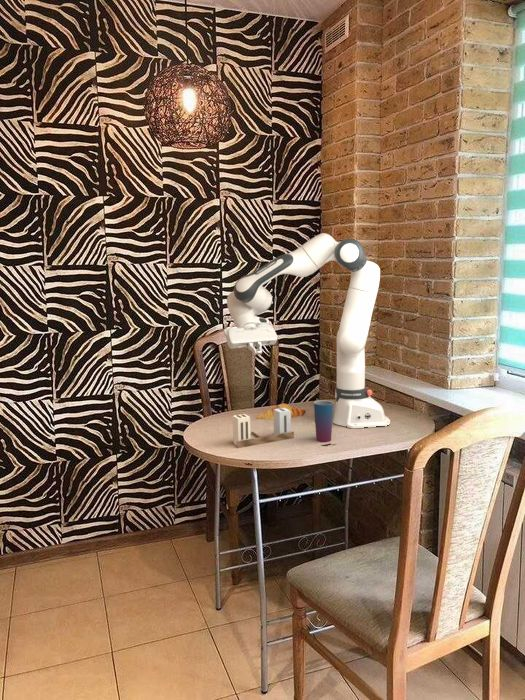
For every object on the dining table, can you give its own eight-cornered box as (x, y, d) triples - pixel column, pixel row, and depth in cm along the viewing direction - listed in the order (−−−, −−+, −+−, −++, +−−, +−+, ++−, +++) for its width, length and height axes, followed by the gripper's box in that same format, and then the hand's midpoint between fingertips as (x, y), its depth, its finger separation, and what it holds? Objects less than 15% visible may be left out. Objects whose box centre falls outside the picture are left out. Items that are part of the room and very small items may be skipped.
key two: (245, 441, 197) (244, 413, 196) (250, 445, 193) (250, 416, 191) (233, 443, 195) (232, 415, 194) (239, 447, 191) (238, 418, 189)
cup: (333, 440, 200) (333, 400, 198) (333, 447, 193) (333, 405, 191) (314, 440, 201) (313, 400, 198) (314, 446, 194) (313, 404, 192)
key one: (284, 434, 204) (284, 407, 203) (291, 437, 200) (290, 410, 198) (274, 436, 202) (273, 409, 201) (280, 439, 198) (279, 412, 196)
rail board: (278, 432, 211) (278, 423, 210) (294, 441, 200) (293, 432, 199) (224, 442, 201) (224, 432, 200) (237, 452, 190) (237, 441, 190)
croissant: (259, 432, 224) (261, 417, 219) (252, 415, 231) (254, 400, 226) (308, 425, 230) (311, 411, 225) (299, 409, 238) (302, 394, 233)
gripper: (224, 322, 212) (235, 351, 205) (272, 319, 221) (284, 346, 214) (220, 332, 217) (231, 361, 210) (267, 329, 226) (278, 356, 219)
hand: (258, 353), depth 212 cm, fingers closed
